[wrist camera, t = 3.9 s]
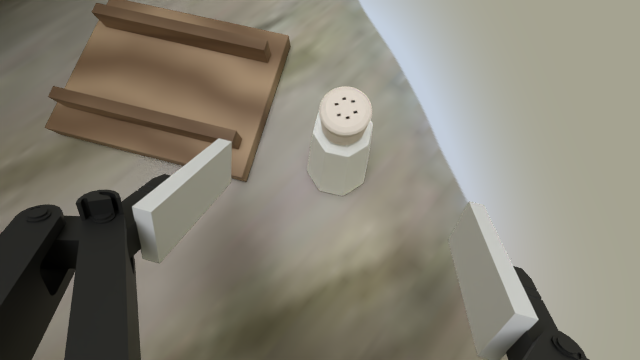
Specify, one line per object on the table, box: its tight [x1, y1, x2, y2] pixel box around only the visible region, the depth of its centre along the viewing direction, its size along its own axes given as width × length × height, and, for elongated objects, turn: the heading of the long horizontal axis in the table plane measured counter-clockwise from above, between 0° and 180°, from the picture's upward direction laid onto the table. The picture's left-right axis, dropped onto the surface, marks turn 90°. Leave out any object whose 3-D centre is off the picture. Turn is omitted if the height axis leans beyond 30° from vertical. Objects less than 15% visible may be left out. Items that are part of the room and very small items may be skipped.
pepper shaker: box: [307, 86, 373, 196], centre depth 21 cm, size 5×5×11 cm
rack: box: [45, 0, 290, 182], centre depth 26 cm, size 14×18×3 cm
